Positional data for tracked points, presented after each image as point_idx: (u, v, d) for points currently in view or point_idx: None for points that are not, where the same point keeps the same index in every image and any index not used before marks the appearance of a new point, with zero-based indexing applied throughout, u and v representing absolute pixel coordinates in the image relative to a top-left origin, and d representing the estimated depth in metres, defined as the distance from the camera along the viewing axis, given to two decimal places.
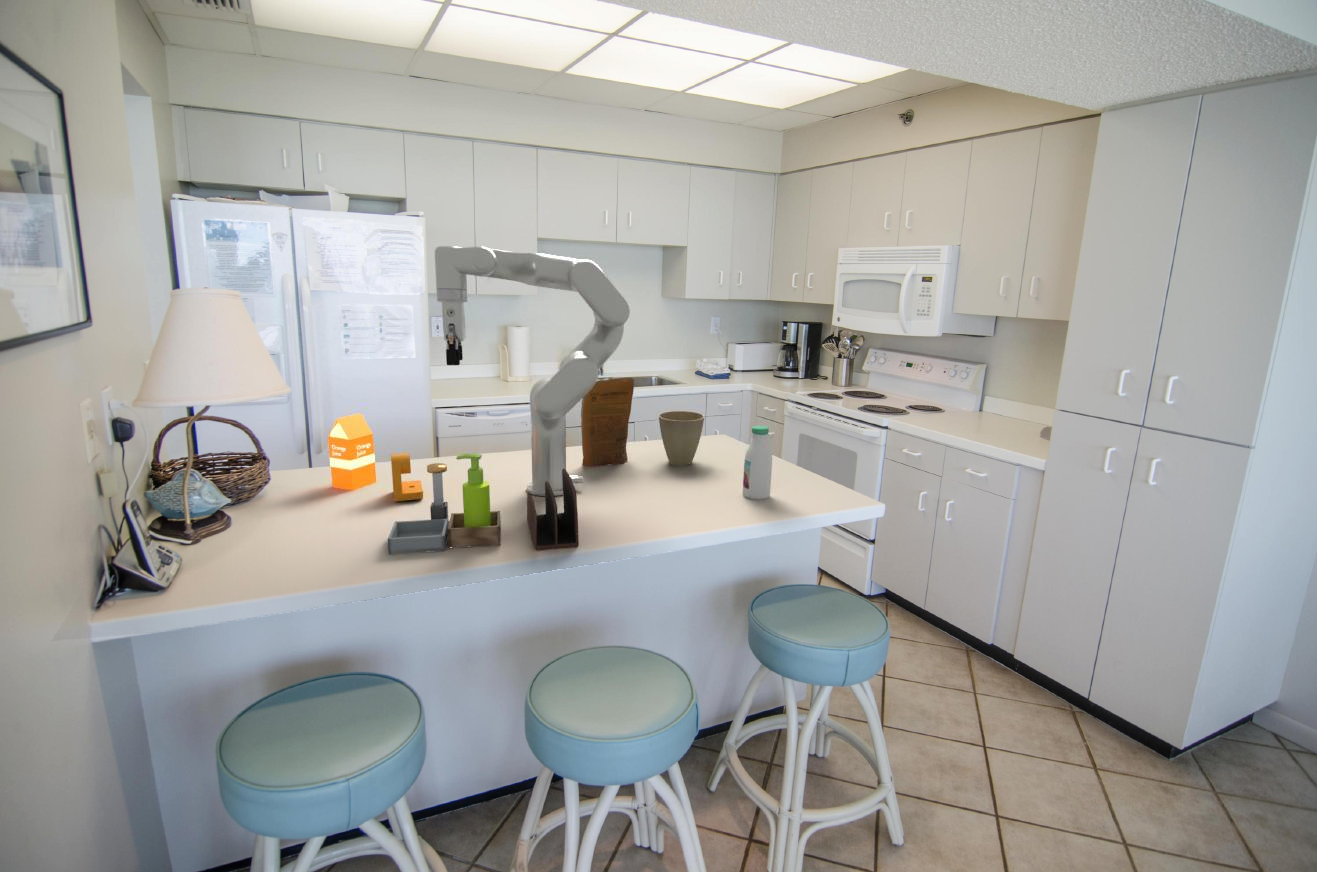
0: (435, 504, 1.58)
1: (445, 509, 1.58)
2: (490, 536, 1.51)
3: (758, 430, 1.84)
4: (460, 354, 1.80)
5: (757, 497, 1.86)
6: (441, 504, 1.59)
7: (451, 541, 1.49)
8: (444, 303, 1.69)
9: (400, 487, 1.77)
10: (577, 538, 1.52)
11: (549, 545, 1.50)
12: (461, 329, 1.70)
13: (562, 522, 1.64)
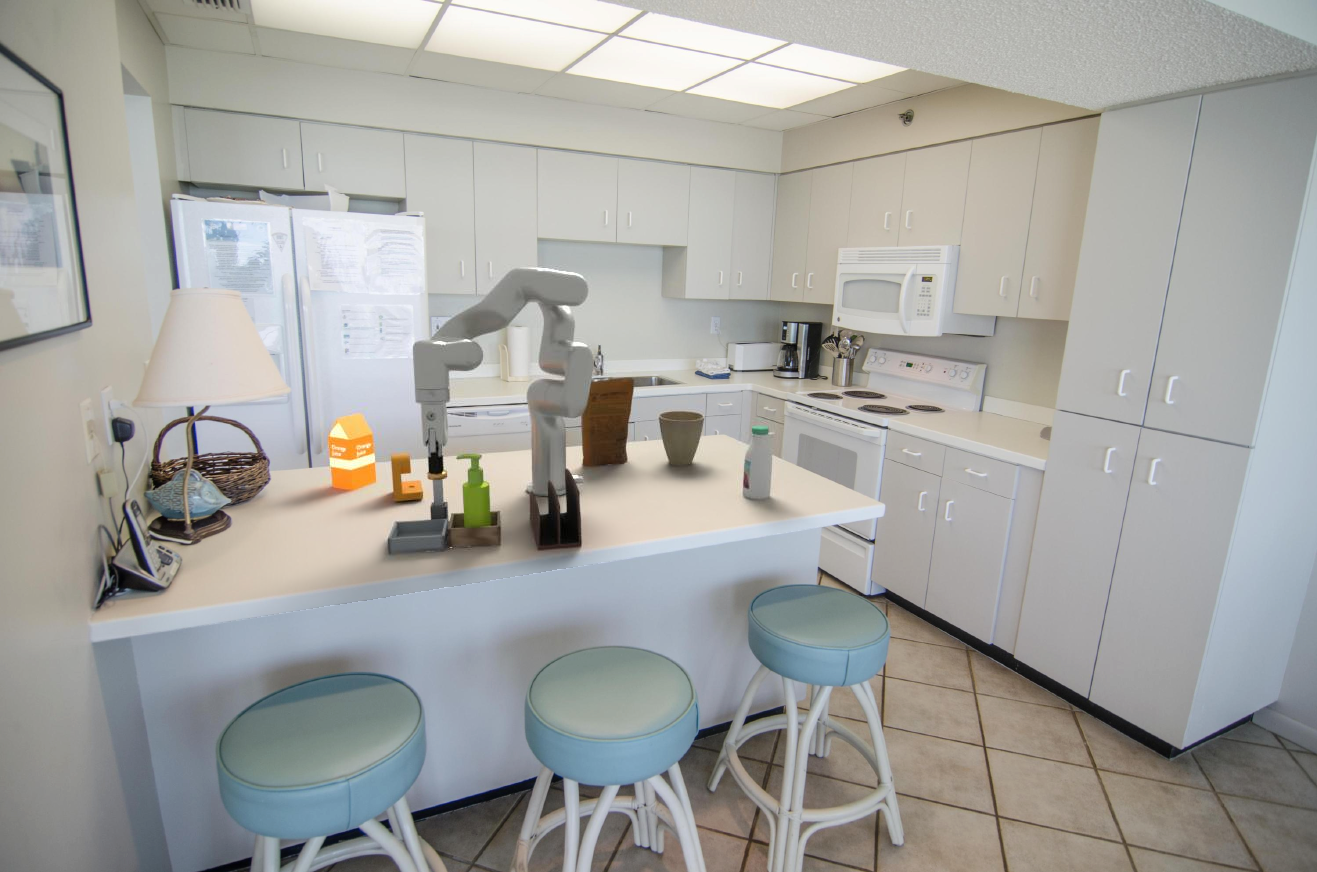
0: None
1: (445, 509, 1.58)
2: (490, 536, 1.51)
3: (758, 430, 1.84)
4: None
5: (757, 497, 1.86)
6: None
7: (451, 541, 1.49)
8: (423, 405, 1.49)
9: (400, 487, 1.77)
10: (580, 538, 1.52)
11: (552, 545, 1.50)
12: (443, 434, 1.51)
13: (565, 522, 1.64)
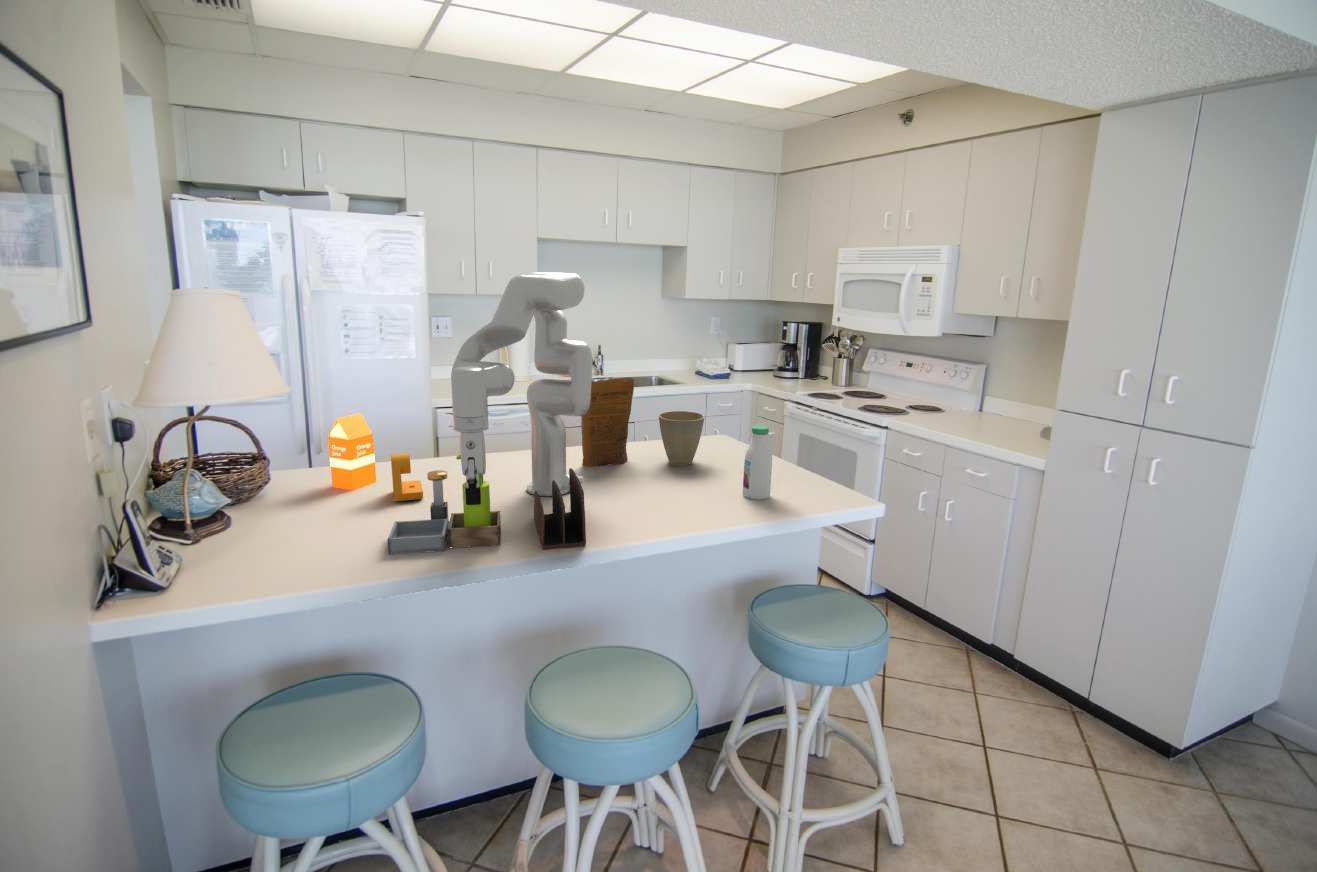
0: None
1: (445, 509, 1.58)
2: (490, 536, 1.51)
3: (758, 430, 1.84)
4: None
5: (757, 497, 1.86)
6: None
7: (451, 541, 1.49)
8: (462, 434, 1.45)
9: (400, 487, 1.77)
10: (584, 537, 1.52)
11: (556, 545, 1.51)
12: (482, 462, 1.47)
13: (569, 521, 1.64)
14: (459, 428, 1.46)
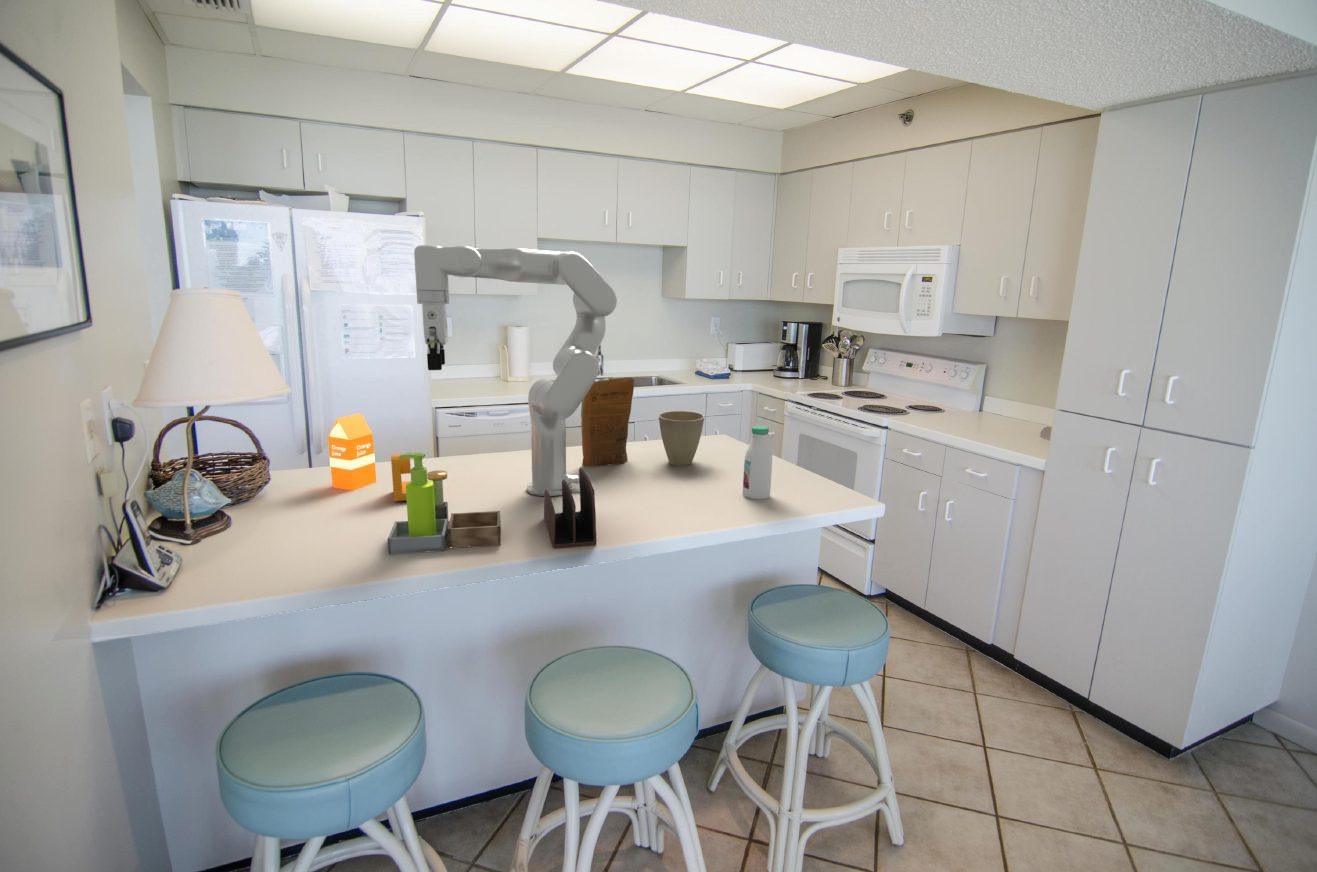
0: None
1: (445, 509, 1.58)
2: (490, 536, 1.51)
3: (758, 430, 1.84)
4: (442, 358, 1.73)
5: (757, 497, 1.86)
6: None
7: (451, 541, 1.49)
8: (425, 305, 1.61)
9: (400, 487, 1.77)
10: (595, 536, 1.53)
11: (567, 544, 1.51)
12: (443, 332, 1.63)
13: (579, 521, 1.65)
14: (422, 300, 1.62)
